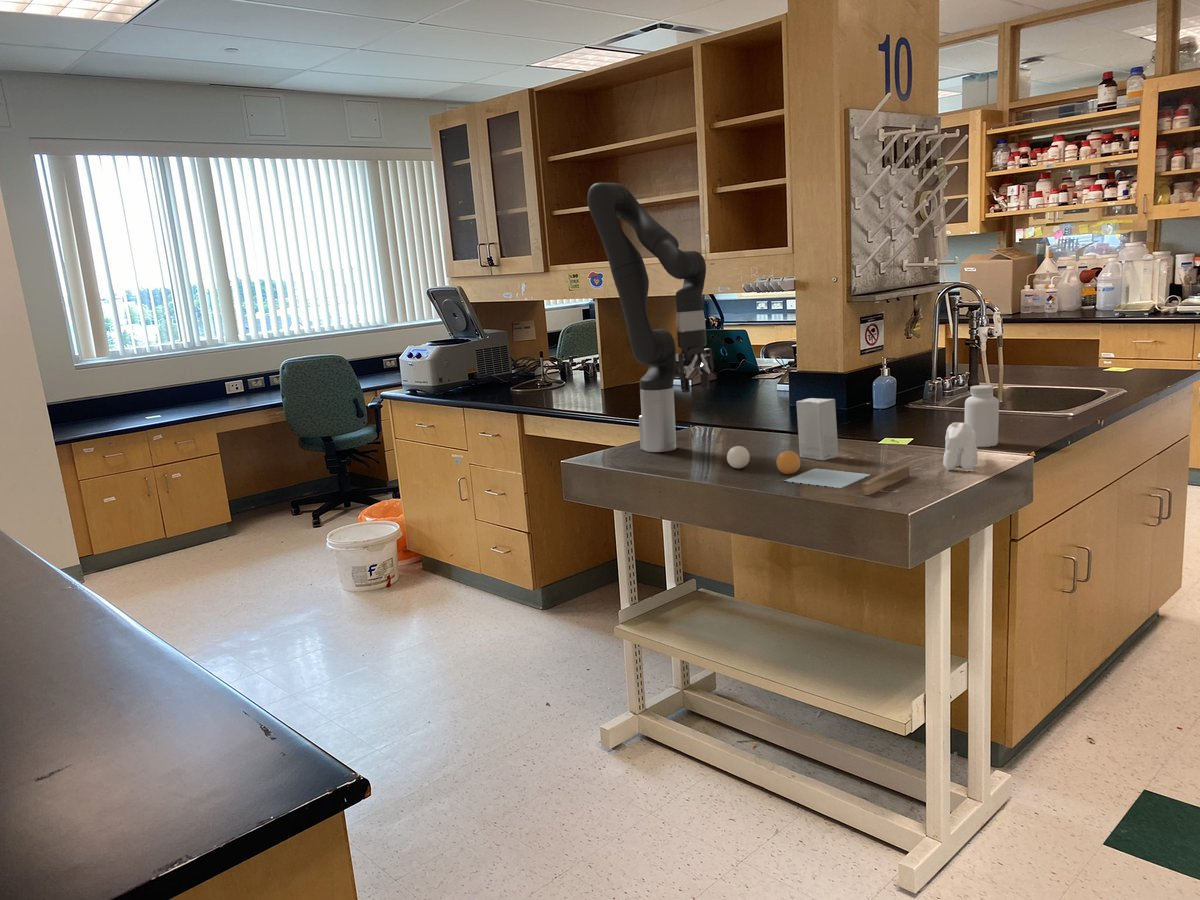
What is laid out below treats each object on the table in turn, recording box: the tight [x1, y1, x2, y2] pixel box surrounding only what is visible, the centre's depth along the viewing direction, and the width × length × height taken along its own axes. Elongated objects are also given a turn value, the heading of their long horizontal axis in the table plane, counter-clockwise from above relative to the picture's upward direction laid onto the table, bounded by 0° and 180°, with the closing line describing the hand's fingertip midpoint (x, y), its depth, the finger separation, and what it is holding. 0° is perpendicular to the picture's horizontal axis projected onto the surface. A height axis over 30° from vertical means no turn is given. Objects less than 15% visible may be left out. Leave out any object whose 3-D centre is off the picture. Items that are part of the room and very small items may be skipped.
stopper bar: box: [860, 464, 910, 496], centre depth 188 cm, size 2×20×2 cm, turn 137°
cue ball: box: [726, 445, 751, 469], centre depth 213 cm, size 6×6×6 cm
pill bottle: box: [963, 384, 1000, 448], centre depth 221 cm, size 8×8×15 cm
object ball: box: [775, 450, 801, 475], centre depth 204 cm, size 6×6×6 cm
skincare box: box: [795, 397, 839, 461], centre depth 218 cm, size 8×6×15 cm
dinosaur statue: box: [942, 422, 978, 471], centre depth 199 cm, size 7×24×11 cm, turn 145°
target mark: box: [784, 468, 872, 489], centre depth 197 cm, size 14×14×1 cm
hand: (695, 390), depth 231 cm, fingers open, 8 cm apart
